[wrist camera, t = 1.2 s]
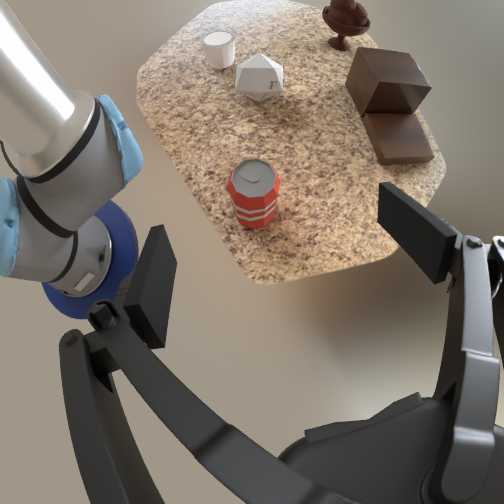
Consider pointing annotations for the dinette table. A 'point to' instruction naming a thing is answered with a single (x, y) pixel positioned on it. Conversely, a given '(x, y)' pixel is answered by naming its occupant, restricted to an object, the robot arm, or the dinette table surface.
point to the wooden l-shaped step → (390, 104)
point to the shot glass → (219, 48)
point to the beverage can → (253, 192)
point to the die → (259, 77)
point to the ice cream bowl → (345, 21)
